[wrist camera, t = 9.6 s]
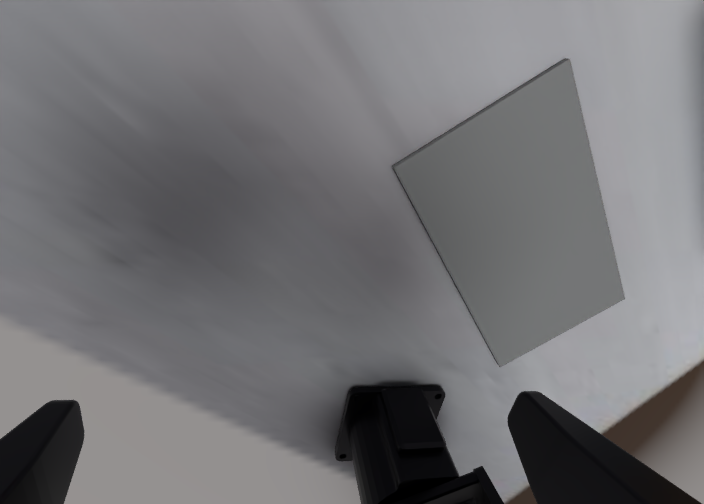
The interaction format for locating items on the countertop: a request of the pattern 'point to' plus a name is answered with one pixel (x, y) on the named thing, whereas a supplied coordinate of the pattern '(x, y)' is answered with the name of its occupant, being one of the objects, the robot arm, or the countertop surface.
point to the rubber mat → (519, 215)
